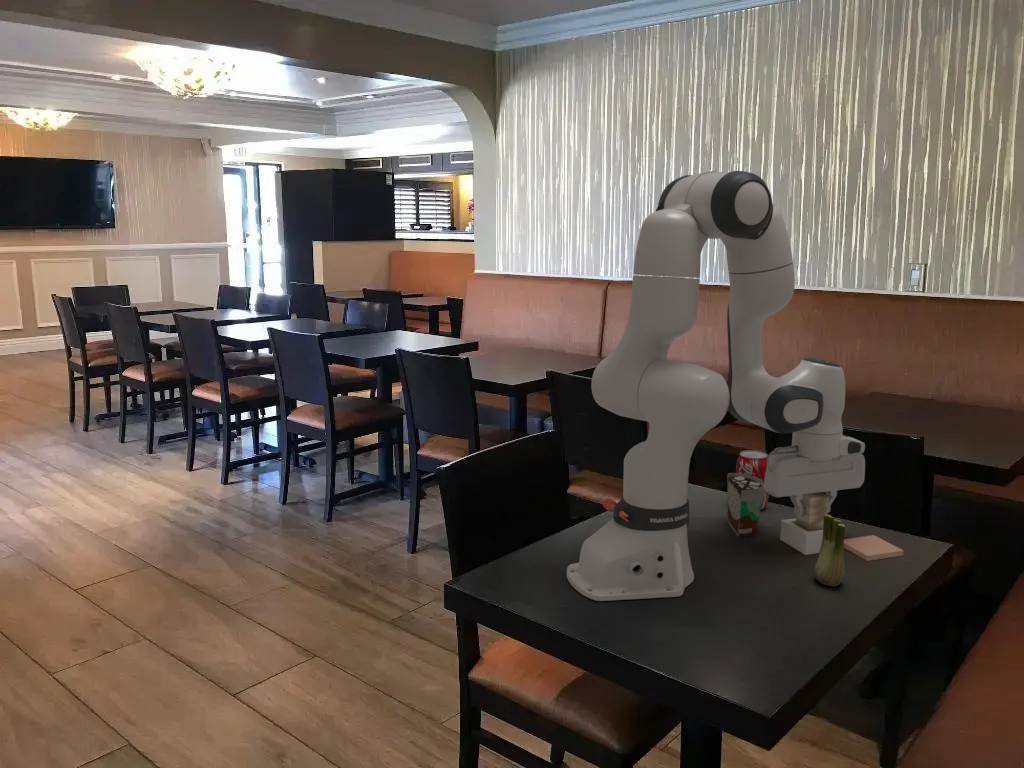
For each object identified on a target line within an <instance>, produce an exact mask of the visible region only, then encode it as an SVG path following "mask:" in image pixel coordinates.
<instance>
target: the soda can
mask: <svg viewBox="0 0 1024 768" xmlns="http://www.w3.org/2000/svg"><path fill="white" fill-rule="evenodd" d="M768 455H769V454H768V453H766V452H764V451H762V450H761V451H759V450H751V449H750V450H749V449H748V450H742V451H740V452H739V457H738V458H737V460H736V466H735V467H736V468H735V473H738V474H745V475H750V476H753V477H756V478H758V479H760V480H761V481H762V482H763V484H764V479H765V473H766V468H767V460H768ZM765 492H766V491H765ZM769 495H770V494H768V493H767V492H766V495H765V496H764V497H763V498H762V501H761V509H760V511H762V510H763V509H765V508H767V507H768V505H769V504H768V503H769Z"/></svg>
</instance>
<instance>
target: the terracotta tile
mask: <svg viewBox="0 0 1024 768" xmlns="http://www.w3.org/2000/svg"><path fill="white" fill-rule="evenodd" d="M844 549H845V550H847V551H849V552H850V551H851V552H850V553H852V554H854V555H855V556H858V557H860V558H861V559H863V560H864V561H866V562H869V561H876V560H882V559H890V558H896V557H902V556H904V550H903V549H901V548H900V547H898V546H896V545H894V544H892V543H890V542H888V541H886V540H884V539H882V538H881V537H878V536H876V535H873V534H872V535H866V536H858V537H853V538H844Z"/></svg>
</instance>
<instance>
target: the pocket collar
mask: <svg viewBox="0 0 1024 768" xmlns="http://www.w3.org/2000/svg"><path fill="white" fill-rule="evenodd" d="M779 535H780V538H779V540H780V541H782V542H784V543H785V544H786V545H788V546H789V547H792V548H794V549H795V550H796V551H798V552H799V553H801V554H803V555H805V556H807V555H808V556H809V555H813V554H819V551H820V547H821V543H822V538H823V530H816V531H809V532H808V531H806V530H804V529H803V528H801V527H799V526H797V525H796V517H794V518H789V519H781V521H780V534H779Z"/></svg>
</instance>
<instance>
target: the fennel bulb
mask: <svg viewBox="0 0 1024 768" xmlns="http://www.w3.org/2000/svg"><path fill="white" fill-rule="evenodd" d="M845 530H846V526H845V524H843V523H842V521H841V520H840V519H835V518H834V516H832V515H831V514H828V515H827V514H826V515H824V523H823V538H822V543H821V547H820V551H819V553H818V558H817V559H816V560H817V561H816V563H815V565H814V568H813V574H814V577H815V579H816V580H817V581H818V583H820V584H822V585H824V586H829V587H838V586H839V585H841V583H842V581H843V579H844V576H845V561H844V560H845V559H844V557H845V555H844V551H845V550H844V549H845V548H844V539H845Z"/></svg>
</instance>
